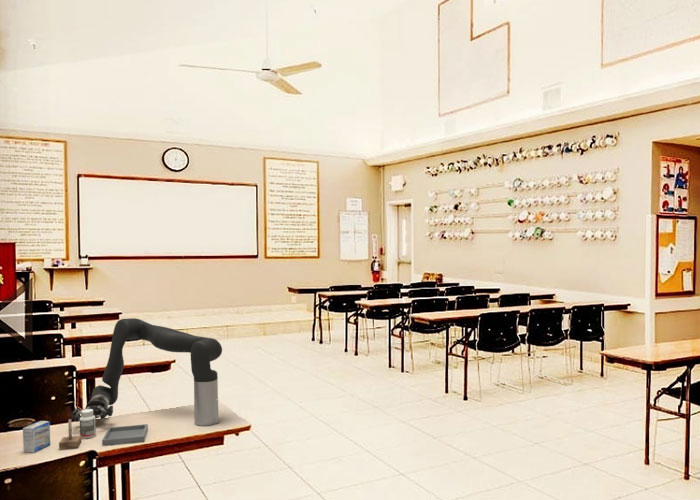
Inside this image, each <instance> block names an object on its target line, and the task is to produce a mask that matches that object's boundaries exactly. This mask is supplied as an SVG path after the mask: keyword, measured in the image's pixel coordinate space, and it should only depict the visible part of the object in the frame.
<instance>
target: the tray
mask: <svg viewBox="0 0 700 500" xmlns="http://www.w3.org/2000/svg"><path fill="white" fill-rule="evenodd" d="M148 430H149V424H148V423H145V424H135V425H122V426H113V427H112V426H111V427H108V429H107V431H106V432H105V434H104V436H103V438H102V440H101V443H102V444H101V445H102V447H105V446H114V445H115V446H117V445H124V444H125V445H126V444H136V443H138V444H139V443H144V442H145V439H146V437H147V433H148Z"/></svg>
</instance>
